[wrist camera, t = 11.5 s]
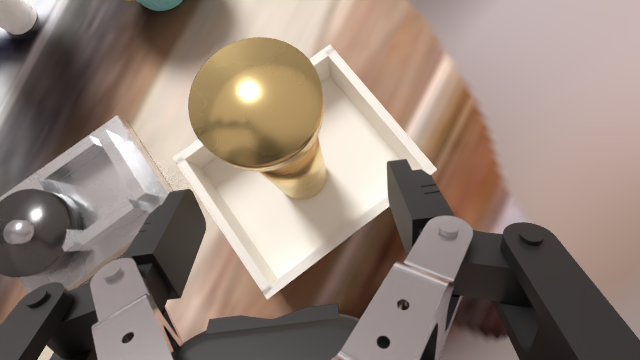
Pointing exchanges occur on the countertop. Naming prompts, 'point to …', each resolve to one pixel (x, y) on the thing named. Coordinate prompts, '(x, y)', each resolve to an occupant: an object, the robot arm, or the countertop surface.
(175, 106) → the countertop surface
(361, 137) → the tray
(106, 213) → the tensioner plate
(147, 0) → the cupcake
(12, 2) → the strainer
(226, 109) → the gold mushroom peg
